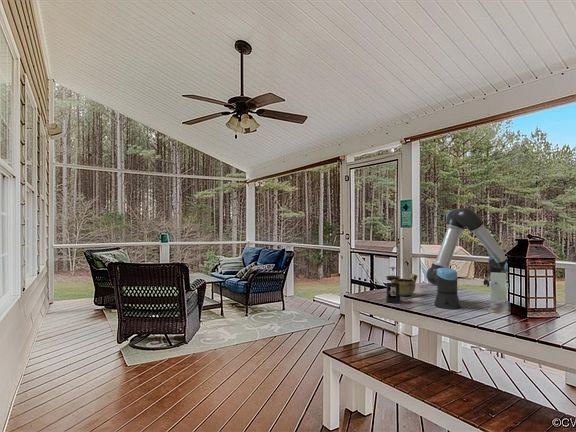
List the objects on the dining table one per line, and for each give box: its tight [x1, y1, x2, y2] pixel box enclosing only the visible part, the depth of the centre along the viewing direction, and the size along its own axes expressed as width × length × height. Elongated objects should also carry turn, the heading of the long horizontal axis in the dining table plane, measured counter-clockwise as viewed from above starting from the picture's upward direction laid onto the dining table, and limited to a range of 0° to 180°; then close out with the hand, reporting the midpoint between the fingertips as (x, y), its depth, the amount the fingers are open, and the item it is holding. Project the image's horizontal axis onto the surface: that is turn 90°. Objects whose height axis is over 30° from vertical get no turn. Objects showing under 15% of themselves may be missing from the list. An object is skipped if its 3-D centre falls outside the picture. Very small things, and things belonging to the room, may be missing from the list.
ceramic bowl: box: [389, 273, 418, 297], centre depth 261 cm, size 22×17×15 cm
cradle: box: [487, 300, 511, 315], centre depth 208 cm, size 11×6×6 cm, turn 63°
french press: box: [385, 266, 402, 305], centre depth 239 cm, size 12×9×23 cm
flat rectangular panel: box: [490, 272, 507, 302], centre depth 213 cm, size 8×3×16 cm, turn 63°
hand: (498, 285), depth 209 cm, fingers closed on flat rectangular panel, 8 cm apart
